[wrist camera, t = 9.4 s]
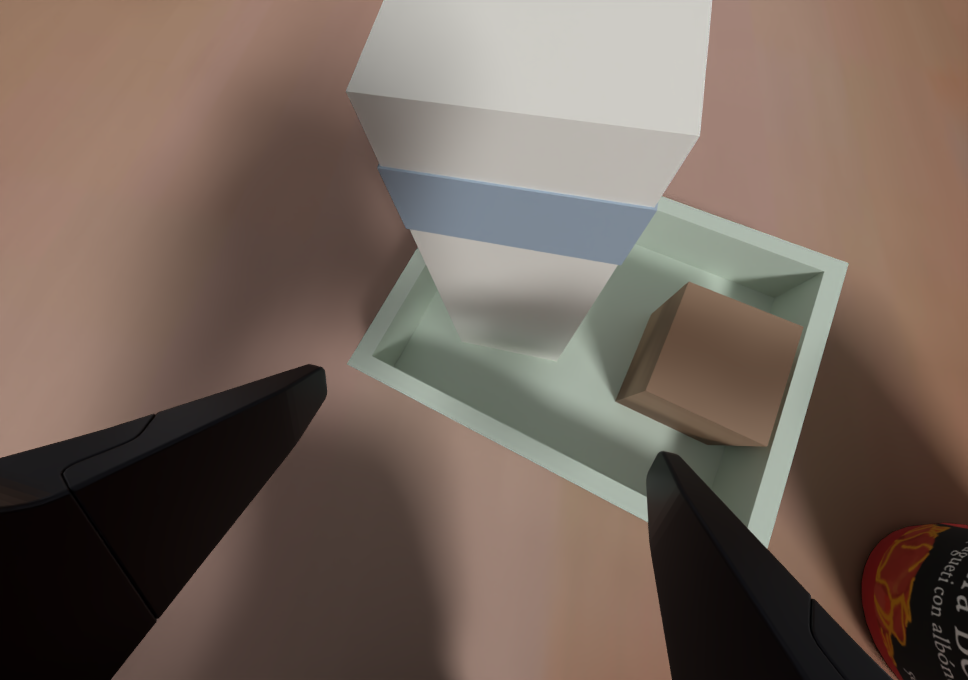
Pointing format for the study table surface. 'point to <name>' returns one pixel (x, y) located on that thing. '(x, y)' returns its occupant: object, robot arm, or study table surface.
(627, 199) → the carton
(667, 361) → the walnut block
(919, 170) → the study table surface
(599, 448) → the pale green tray
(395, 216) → the study table surface
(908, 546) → the canned food
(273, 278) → the study table surface
